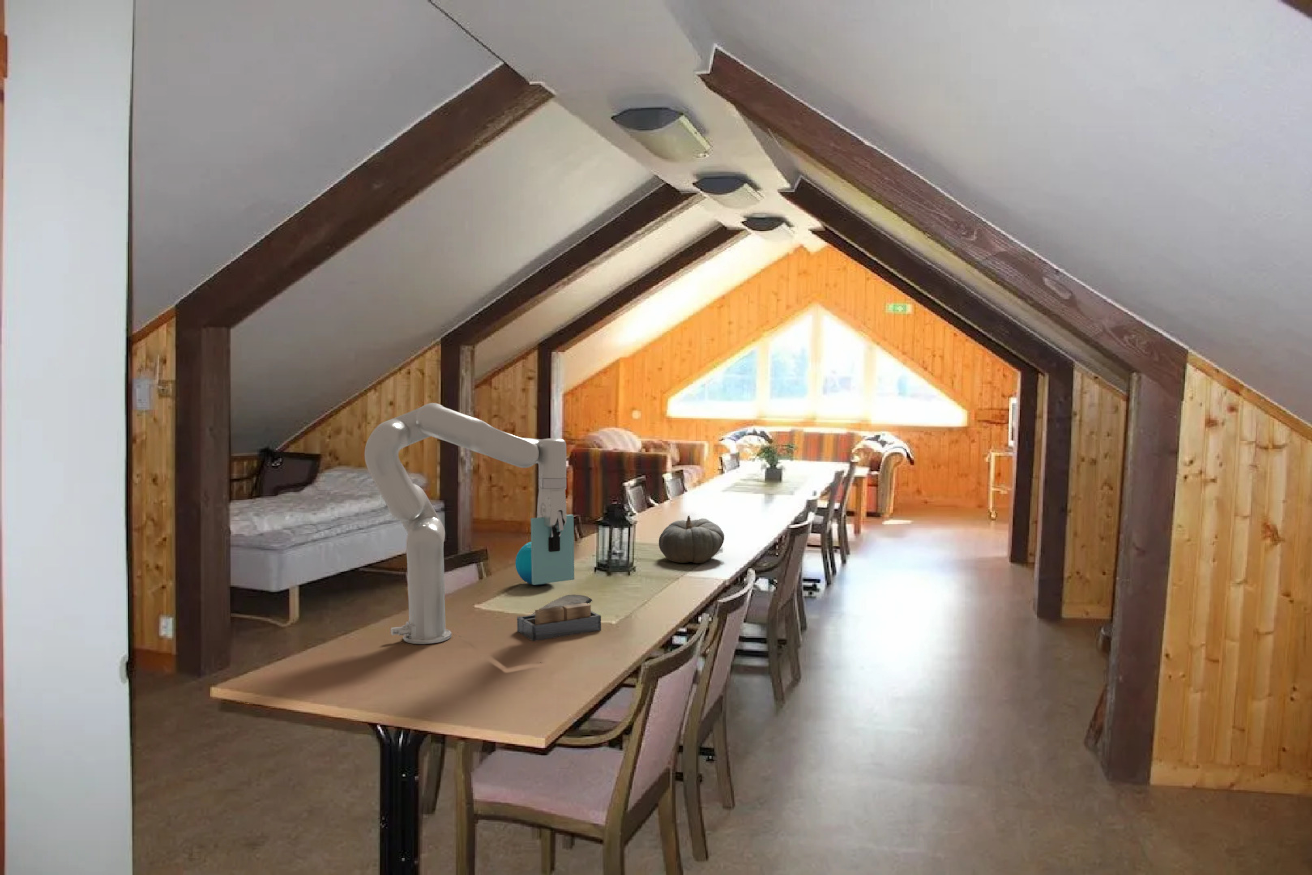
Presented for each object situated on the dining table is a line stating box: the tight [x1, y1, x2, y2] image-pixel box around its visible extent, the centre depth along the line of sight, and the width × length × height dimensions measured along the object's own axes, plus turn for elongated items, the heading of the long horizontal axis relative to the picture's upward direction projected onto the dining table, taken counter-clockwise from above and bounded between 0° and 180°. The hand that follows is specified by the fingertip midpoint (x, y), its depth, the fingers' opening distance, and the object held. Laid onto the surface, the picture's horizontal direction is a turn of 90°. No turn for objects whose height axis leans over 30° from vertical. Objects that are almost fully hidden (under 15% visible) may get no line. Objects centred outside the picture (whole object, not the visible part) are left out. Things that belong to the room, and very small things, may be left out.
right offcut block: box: [563, 603, 592, 620], centre depth 256 cm, size 7×3×7 cm, turn 120°
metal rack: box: [516, 610, 602, 642], centre depth 257 cm, size 20×11×5 cm, turn 120°
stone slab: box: [530, 594, 593, 615], centre depth 282 cm, size 10×3×30 cm
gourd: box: [658, 515, 725, 564], centre depth 357 cm, size 25×25×17 cm
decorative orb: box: [515, 541, 547, 586], centre depth 317 cm, size 15×15×15 cm
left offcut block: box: [534, 607, 564, 625], centre depth 252 cm, size 7×3×7 cm, turn 120°
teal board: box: [530, 514, 575, 586], centre depth 258 cm, size 12×2×18 cm, turn 120°
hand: (552, 550), depth 258 cm, fingers closed on teal board, 1 cm apart
